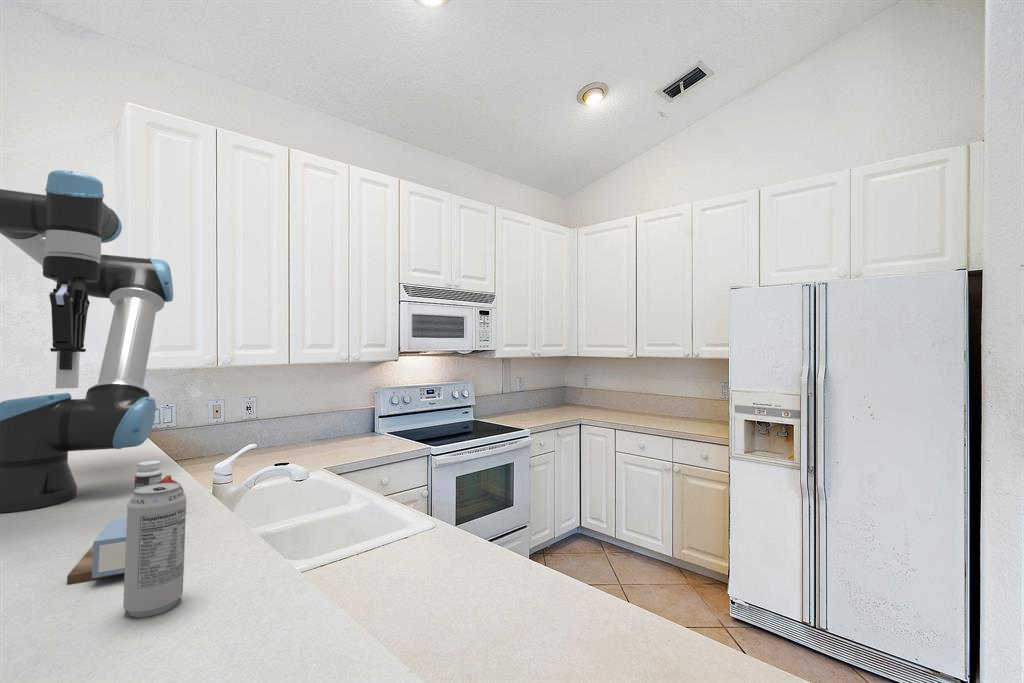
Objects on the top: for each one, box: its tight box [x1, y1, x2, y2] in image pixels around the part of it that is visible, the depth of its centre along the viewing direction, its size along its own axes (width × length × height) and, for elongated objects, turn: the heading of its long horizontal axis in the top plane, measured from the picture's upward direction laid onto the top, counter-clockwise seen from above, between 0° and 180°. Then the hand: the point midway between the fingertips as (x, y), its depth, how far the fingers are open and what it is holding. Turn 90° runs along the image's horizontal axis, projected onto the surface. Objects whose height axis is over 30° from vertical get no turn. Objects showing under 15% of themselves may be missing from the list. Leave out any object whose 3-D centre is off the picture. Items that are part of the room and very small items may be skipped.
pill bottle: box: [133, 460, 163, 495], centre depth 103 cm, size 5×5×8 cm
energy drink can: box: [122, 482, 187, 618], centre depth 59 cm, size 6×6×15 cm
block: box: [92, 517, 127, 578], centre depth 70 cm, size 5×5×10 cm
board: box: [66, 544, 125, 585], centre depth 73 cm, size 14×11×1 cm
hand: (66, 387), depth 84 cm, fingers closed
